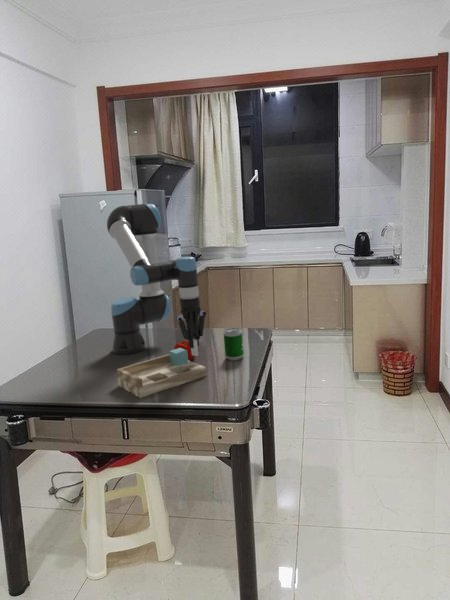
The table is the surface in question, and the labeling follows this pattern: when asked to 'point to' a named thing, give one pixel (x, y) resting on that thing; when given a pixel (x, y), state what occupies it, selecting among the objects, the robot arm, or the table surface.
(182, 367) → the board
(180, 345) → the tomato
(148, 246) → the robot arm
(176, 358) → the teal block
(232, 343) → the soda can
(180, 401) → the table surface
